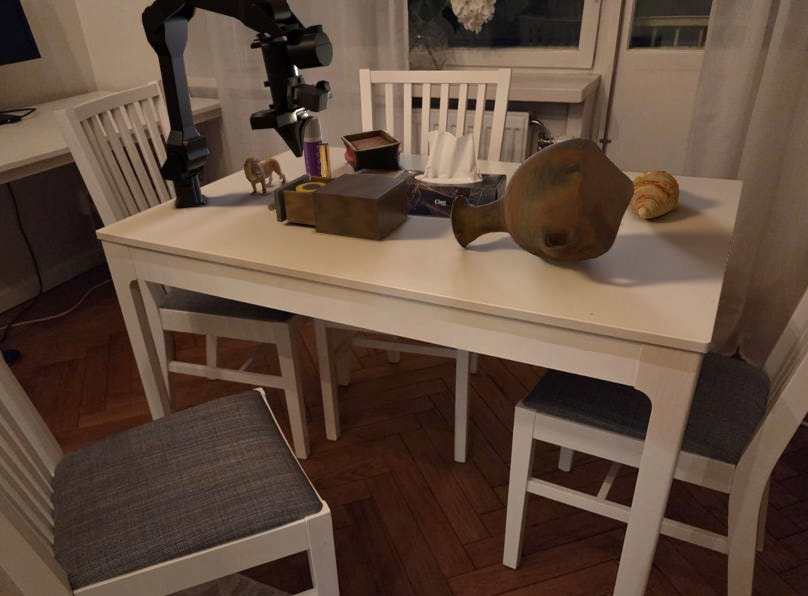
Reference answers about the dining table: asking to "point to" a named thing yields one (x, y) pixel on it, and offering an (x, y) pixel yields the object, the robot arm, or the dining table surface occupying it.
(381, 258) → the dining table surface
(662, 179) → the croissant
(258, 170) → the lion figurine
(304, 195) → the drawer
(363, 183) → the cabinet
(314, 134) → the container
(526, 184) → the jug
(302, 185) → the tape roll
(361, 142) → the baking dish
